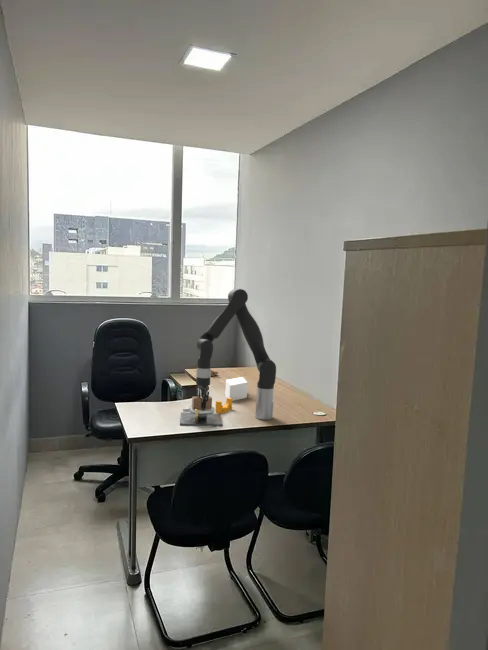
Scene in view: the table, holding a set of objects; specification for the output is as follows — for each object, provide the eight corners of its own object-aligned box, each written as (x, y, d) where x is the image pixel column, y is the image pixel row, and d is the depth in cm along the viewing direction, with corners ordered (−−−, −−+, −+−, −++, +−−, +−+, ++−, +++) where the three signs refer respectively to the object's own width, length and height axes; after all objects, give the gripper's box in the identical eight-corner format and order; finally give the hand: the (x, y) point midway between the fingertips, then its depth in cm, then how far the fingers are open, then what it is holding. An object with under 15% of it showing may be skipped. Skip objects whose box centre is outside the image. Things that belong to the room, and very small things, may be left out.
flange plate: (211, 407, 274) (211, 393, 273) (217, 414, 260) (218, 400, 260) (181, 407, 269) (181, 394, 268) (185, 415, 256) (186, 401, 255)
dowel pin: (197, 422, 258) (198, 409, 257) (197, 423, 256) (198, 410, 256) (194, 422, 258) (195, 409, 257) (194, 423, 256) (195, 409, 256)
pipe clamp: (221, 413, 280) (221, 402, 279) (215, 412, 282) (215, 401, 282) (234, 410, 289) (234, 399, 289) (228, 408, 292) (229, 397, 291)
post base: (220, 415, 277) (221, 407, 276) (222, 426, 257) (222, 417, 256) (181, 414, 274) (181, 405, 274) (179, 425, 255) (180, 416, 254)
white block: (252, 393, 333) (252, 378, 332) (240, 403, 306) (241, 386, 304) (231, 390, 337) (232, 375, 336) (218, 400, 309) (219, 384, 308)
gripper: (214, 378, 258) (213, 410, 260) (205, 373, 271) (204, 403, 273) (201, 379, 255) (199, 411, 257) (192, 373, 268) (191, 404, 270)
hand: (202, 407), depth 265 cm, fingers closed on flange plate, 4 cm apart
